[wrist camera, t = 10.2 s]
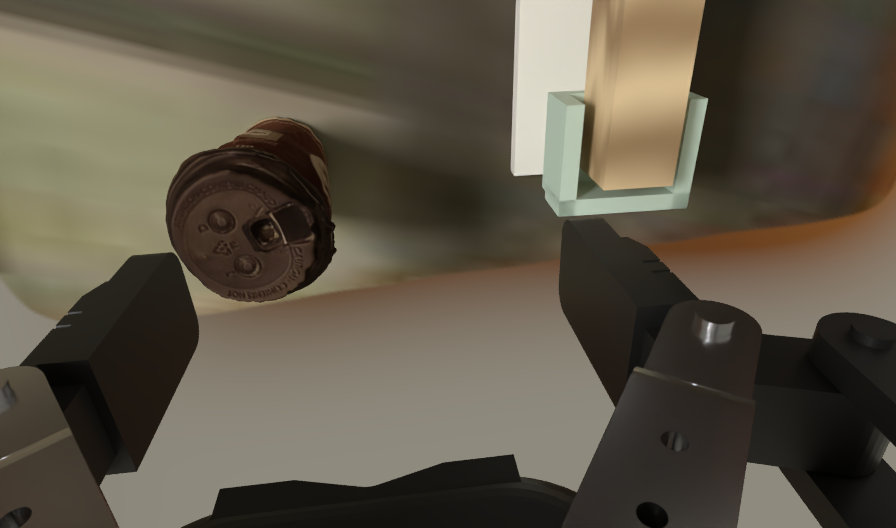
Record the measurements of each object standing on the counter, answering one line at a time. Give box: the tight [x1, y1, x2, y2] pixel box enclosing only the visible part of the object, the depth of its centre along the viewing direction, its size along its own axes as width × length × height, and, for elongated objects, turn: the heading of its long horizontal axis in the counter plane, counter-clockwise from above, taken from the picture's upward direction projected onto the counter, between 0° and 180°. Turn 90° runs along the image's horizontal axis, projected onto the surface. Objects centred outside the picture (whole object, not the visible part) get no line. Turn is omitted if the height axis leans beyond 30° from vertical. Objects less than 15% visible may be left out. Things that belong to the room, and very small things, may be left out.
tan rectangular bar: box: [579, 0, 705, 190], centre depth 29 cm, size 17×4×4 cm, turn 2°
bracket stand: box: [511, 0, 708, 217], centre depth 32 cm, size 21×10×9 cm, turn 1°
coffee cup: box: [166, 117, 337, 303], centre depth 33 cm, size 9×8×13 cm
